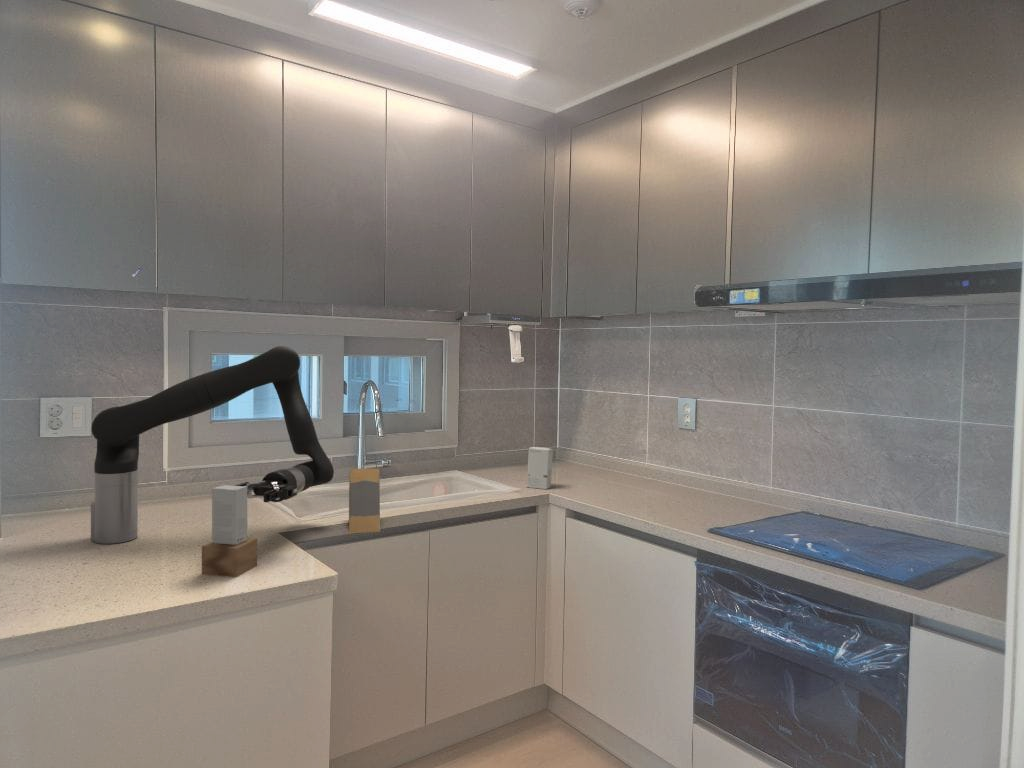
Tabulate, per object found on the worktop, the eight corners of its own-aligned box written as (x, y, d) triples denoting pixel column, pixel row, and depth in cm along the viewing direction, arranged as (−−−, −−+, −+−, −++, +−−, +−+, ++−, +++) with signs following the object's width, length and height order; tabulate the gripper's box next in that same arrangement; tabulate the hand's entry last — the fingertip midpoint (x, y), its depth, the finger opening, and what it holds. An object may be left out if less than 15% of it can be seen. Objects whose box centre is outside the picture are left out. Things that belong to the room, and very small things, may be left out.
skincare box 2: (526, 487, 238) (526, 448, 238) (531, 485, 244) (532, 446, 243) (547, 489, 235) (548, 449, 235) (552, 486, 241) (553, 447, 241)
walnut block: (201, 574, 136) (201, 546, 135) (224, 562, 144) (224, 536, 143) (236, 576, 134) (236, 548, 134) (257, 565, 142) (257, 538, 142)
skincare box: (248, 540, 140) (248, 486, 140) (235, 545, 136) (235, 489, 136) (224, 538, 142) (224, 484, 141) (210, 543, 138) (211, 488, 137)
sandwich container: (348, 533, 171) (348, 477, 170) (348, 520, 186) (349, 468, 185) (381, 532, 173) (381, 476, 172) (379, 518, 188) (379, 467, 187)
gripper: (257, 467, 162) (218, 479, 146) (310, 470, 160) (276, 481, 144) (257, 497, 162) (218, 511, 146) (310, 500, 160) (276, 515, 144)
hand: (247, 496), depth 145 cm, fingers open, 8 cm apart
